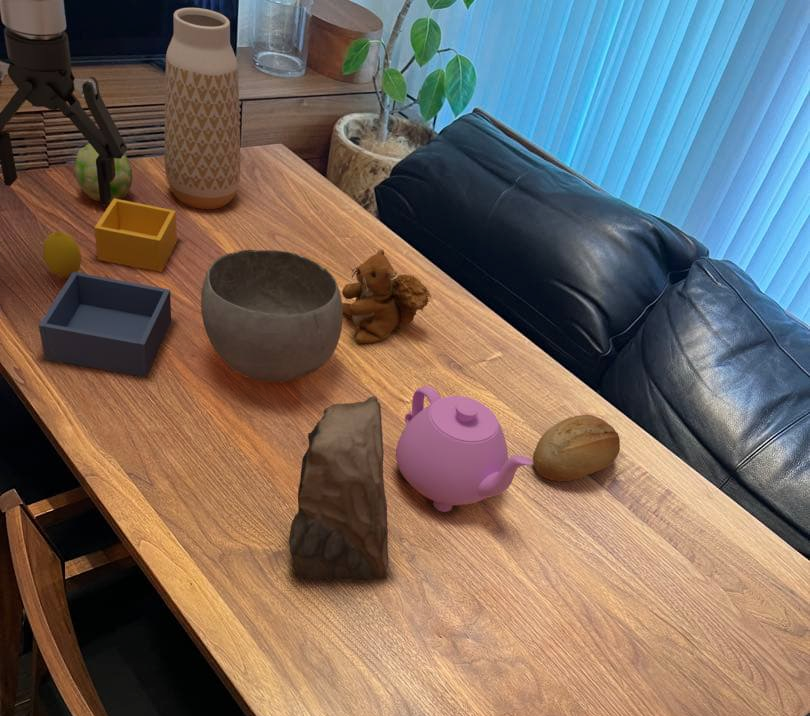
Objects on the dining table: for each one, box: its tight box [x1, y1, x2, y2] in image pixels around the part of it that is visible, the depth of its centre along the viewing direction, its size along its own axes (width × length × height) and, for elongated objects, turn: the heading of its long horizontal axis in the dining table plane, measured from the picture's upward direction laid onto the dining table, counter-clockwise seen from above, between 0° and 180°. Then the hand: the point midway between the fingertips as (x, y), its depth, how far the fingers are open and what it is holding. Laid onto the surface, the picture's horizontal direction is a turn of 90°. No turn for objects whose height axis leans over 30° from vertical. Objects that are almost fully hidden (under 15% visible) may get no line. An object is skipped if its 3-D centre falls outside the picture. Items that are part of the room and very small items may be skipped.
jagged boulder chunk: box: [288, 395, 389, 581], centre depth 96 cm, size 13×13×20 cm
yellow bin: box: [93, 198, 178, 273], centre depth 137 cm, size 11×11×6 cm
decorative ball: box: [74, 142, 133, 203], centre depth 144 cm, size 10×10×10 cm
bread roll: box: [532, 414, 621, 482], centre depth 119 cm, size 10×15×8 cm, turn 125°
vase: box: [164, 7, 241, 210], centre depth 144 cm, size 14×14×31 cm
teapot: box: [395, 385, 534, 513], centre depth 109 cm, size 22×16×14 cm
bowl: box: [200, 249, 344, 383], centre depth 119 cm, size 20×20×15 cm
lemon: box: [42, 230, 82, 279], centre depth 127 cm, size 6×6×8 cm
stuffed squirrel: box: [341, 248, 433, 344], centre depth 132 cm, size 10×14×13 cm
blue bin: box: [38, 271, 172, 378], centre depth 120 cm, size 15×15×6 cm
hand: (58, 191), depth 118 cm, fingers open, 13 cm apart
